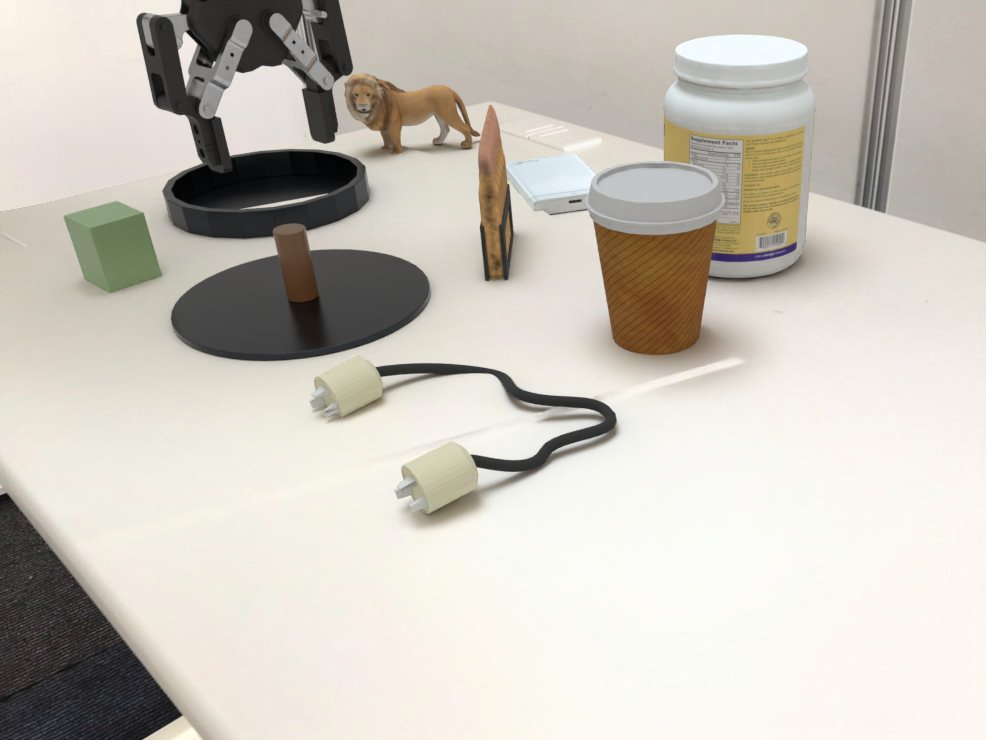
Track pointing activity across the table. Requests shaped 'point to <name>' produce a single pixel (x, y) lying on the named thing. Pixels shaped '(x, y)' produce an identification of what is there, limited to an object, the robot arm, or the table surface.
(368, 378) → the cable
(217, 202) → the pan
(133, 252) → the block
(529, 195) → the hard drive
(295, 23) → the robot arm
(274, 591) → the table surface
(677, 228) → the disposable coffee cup
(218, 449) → the table surface
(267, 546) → the table surface
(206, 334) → the lid
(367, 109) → the lion figurine
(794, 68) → the supplement tub
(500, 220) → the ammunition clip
